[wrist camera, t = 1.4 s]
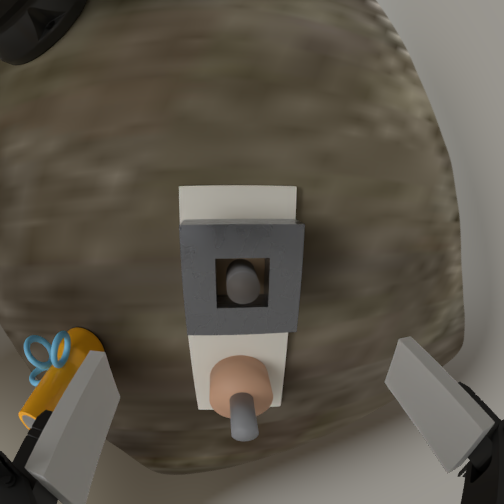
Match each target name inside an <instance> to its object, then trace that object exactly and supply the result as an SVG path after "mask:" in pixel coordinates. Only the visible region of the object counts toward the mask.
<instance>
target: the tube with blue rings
mask: <svg viewBox="0 0 504 504" xmlns="http://www.w3.org/2000/svg"><path fill="white" fill-rule="evenodd" d="M33 342H39V343H41V344H43V345H44V346H45V347H46V349H47V350H48V352H49V360H48V361H47V362H40V361H38V360H36V359H35V358H34V357H33V355H32V354H31V351H30V345H31V343H33ZM90 350H92V351H101V352H104V348H103V345H102V344H101V342H100V340H99V339H98V338H97V337H96V336H95V335H94V334H93V333H92V332H90V331H88V330H86V329H84V328H80V327H76V328H72V329H70V330H69V331H68V332H66V331H60V332H59V333H58V334H57V335H56V336H55V338H54V340H53V343H52V346H51V345H50V343H49V342H48V341H47V340H46V339H44V338H43V337H41V336H37V335H32V336H29V337H28V338H27V339H26V340H25V343H24V352H25V355H26V357H27V358H28V360H29V361H30V362H31V363H32V364H33V365H34V366H36V367H37V368H35V369H34V370H33V371H32V372H31V374H30V377H29V380H30V383H31V384H32V385H34V386H36V388H35V389H34V391H33V392H32V394H31V395H30V397H29V398H28V400H27V401H26V403H25V404H24V406H23V408H22V409H21V411H20V412H19V418H20V420H21V421H22V423H23V424H24V425H25V426H26V427H27V428H28V429H29V430H30V428H32V425H33V423H34V421H35V419H36V418H37V416H39V415H40V414H41V413H42V412H43V411H45V410H49V411H52V412H53V411H54V409H55V407H56V406H57V404H58V402H59V400H60V399H61V397H62V395H63V393H64V392H65V390H66V388H67V387H68V385H69V383H70V382H71V380H72V378H73V377H74V375H75V374H76V372H77V370H78V369H79V367H80V366H81V364H82V362H83V361H84V359H85V358H86V356H87V355H88V353H89V352H90ZM45 370H48V371H47V372H46V373H45V375H44V376H43V378H42V379H41V380H35V377H36V376H37V375H38V374H39V373H40V372H42V371H45Z"/></svg>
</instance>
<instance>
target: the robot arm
mask: <svg viewBox="0 0 504 504" xmlns="http://www.w3.org/2000/svg"><path fill="white" fill-rule="evenodd" d="M86 1H87V0H0V60H2V61H4V62H7V63H9V64H12V65H20V64H24V63H27V62H29V61H31V60H33V59H35V58H36V57H38V56H39V55H41V54H42V53H44V52H45V51H46V50H47V49H49V48H50V47H51V46H52V45H53V44H54V43H55V42H56V41H58V40H59V39H60V38H61V37H62V36H63V34H64V33H65V32H66V31H67V30H68V29H69V28H70V27H71V25H72V24H73V23H74V21H75V20H76V19H77V17H78V16H79V14H80V13H81V11H82V9H83V8H84V6H85V4H86ZM385 384H386V385H387V387H388V388H389V389H390V391H391V392H392V394H393V395H394V396H395V398H396V399H397V401H398V402H399V403H400V405H401V406H402V408H403V409H404V410H405V412H406V413H407V415H408V416H409V418H410V419H411V420H412V422H413V423H414V425H415V426H416V427H417V429H418V431H419V432H420V433H421V435H422V436H423V438H424V439H425V441H426V442H427V444H428V445H429V446H430V448H431V450H432V451H433V452H434V454H435V456H436V457H437V459H438V460H439V461H440V463H441V465H442V466H443V468H444V469H445V471H446V472H447V473H450V472H451V471H453V470H454V469H456V468H457V467H459V466H461V464H462V463H463V462H464V461H465V460H466V459H467V458H469V460H470V461H469V462H468V463H467V465H465V467H464V468H463V469H462V470H461V471H460V472H459V474H458V477H459V476H461V475H462V473H464V472H465V471H466V473H465V474H464V475H463V477H465V483H464V489H463V494H462V500H461V504H504V420H502V421H501V420H500V419H499V418H498V417H497V416H496V415H495V414H494V413H493V412H492V410H491V409H490V408H489V407H488V406H487V405H486V404H485V403H484V402H483V401H481V399H480V398H479V397H478V396H477V395H475V393H474V392H473V391H472V390H471V388H469V387H468V386H466V385H465V384H463V383H461V382H459V383H457V382H456V381H455V379H454V378H452V377H451V375H450V374H449V373H447V371H445V369H444V368H443V367H442V366H441V365H440V364H439V363H438V362H437V361H436V360H435V359H434V358H433V357H432V356H431V355H430V354H428V353H427V352H426V351H425V350H424V349H423V348H422V347H421V346H420V345H419V344H418V343H417V342H416V341H415V340H414V339H413V338H412V337H411V336H410V337H405V338H400V339H399V340H398V343H397V346H396V350H395V353H394V356H393V359H392V362H391V365H390V368H389V371H388V374H387V376H386V379H385ZM119 400H120V395H119V392H118V390H117V387H116V384H115V381H114V378H113V375H112V372H111V369H110V366H109V363H108V360H107V356H106V353H105V352H101V351H92V350H90V352H89V353H88V355H87V356H86V358H85V359H84V361H83V362H82V364H81V366H80V367H79V369H78V370H77V372H76V374H75V375H74V377H73V378H72V380H71V382H70V383H69V385H68V387H67V388H66V390H65V392H64V393H63V395H62V397H61V399H60V400H59V402H58V404H57V406H56V407H55V409H54V411H53V412H52V411H49V410H45V411H43V412H42V413H41V414H40V415H39V416H37V418H36V419H35V421H34V423H33V425H32V428H30V430H29V432H28V436H26V438H25V439H24V441H23V443H22V445H21V447H20V449H19V451H18V452H17V454H16V457H15V458H14V461H13V462H11V461H10V460H9V459H8V458H7V457H6V455H5V454H4V453H2V451H0V504H57V500H59V501H60V502H61V503H63V504H86V501H87V497H88V493H89V490H90V486H91V483H92V479H93V476H94V473H95V469H96V466H97V463H98V460H99V457H100V453H101V450H102V447H103V444H104V441H105V438H106V436H107V433H108V430H109V427H110V424H111V421H112V418H113V416H114V413H115V410H116V408H117V405H118V402H119Z"/></svg>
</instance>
